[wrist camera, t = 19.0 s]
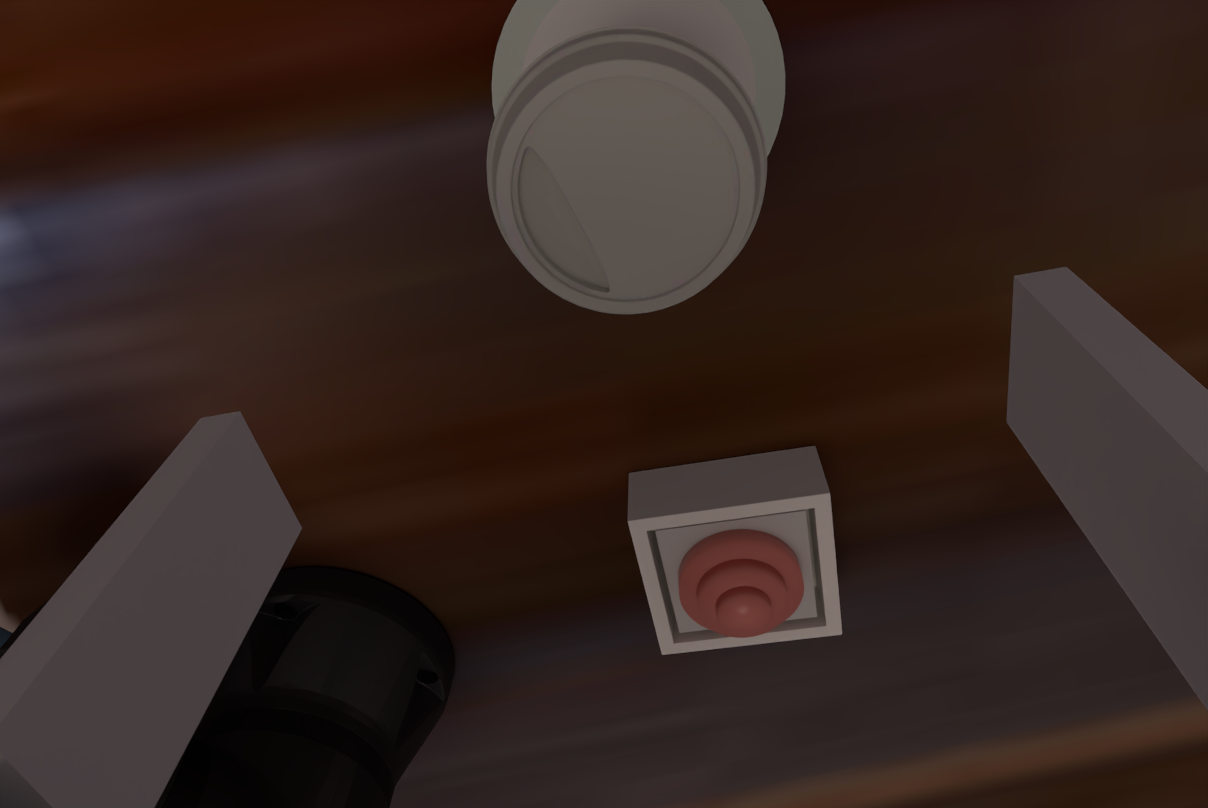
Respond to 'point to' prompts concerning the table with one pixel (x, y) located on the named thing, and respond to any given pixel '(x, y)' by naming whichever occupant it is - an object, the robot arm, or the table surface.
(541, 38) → the pad
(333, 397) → the table surface
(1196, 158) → the table surface
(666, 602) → the popper housing
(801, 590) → the dome plunger
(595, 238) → the coffee cup
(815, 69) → the table surface
